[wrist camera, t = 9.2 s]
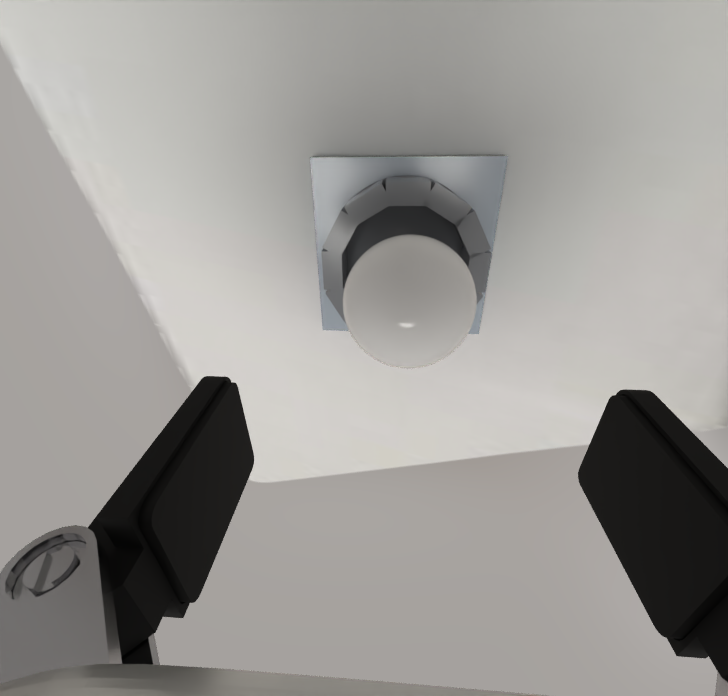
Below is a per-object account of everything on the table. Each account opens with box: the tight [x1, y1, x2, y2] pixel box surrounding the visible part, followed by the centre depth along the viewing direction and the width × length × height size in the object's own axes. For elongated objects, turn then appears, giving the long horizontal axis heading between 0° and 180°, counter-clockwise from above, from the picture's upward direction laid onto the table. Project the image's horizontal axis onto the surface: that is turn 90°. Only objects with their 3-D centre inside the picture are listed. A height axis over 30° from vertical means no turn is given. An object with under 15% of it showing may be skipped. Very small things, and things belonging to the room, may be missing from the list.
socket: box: [310, 155, 508, 334], centre depth 24 cm, size 12×12×5 cm
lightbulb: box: [343, 234, 477, 368], centre depth 20 cm, size 6×6×11 cm
